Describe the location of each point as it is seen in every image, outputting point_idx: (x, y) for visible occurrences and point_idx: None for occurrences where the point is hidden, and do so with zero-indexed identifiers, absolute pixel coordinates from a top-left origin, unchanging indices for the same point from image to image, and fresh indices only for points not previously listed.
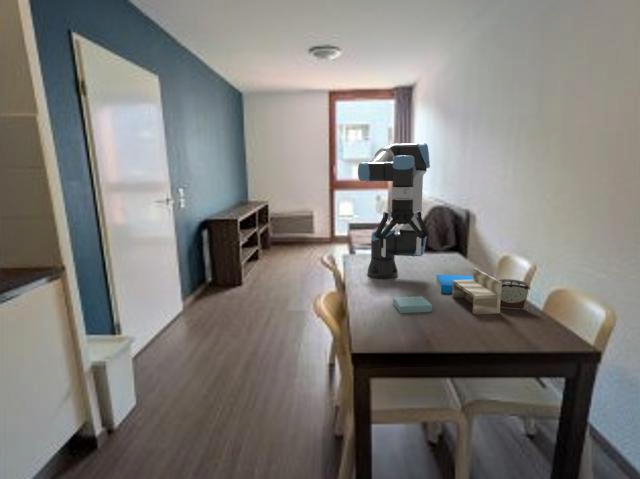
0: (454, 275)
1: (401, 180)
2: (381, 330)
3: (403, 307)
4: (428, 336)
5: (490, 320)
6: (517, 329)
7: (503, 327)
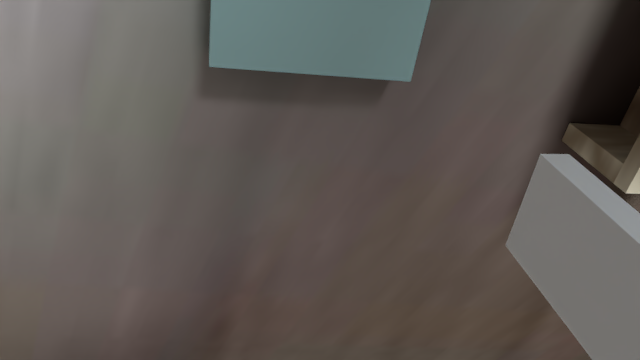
0: None
1: None
2: (42, 239)
3: (229, 64)
4: (239, 299)
5: None
6: None
7: None
